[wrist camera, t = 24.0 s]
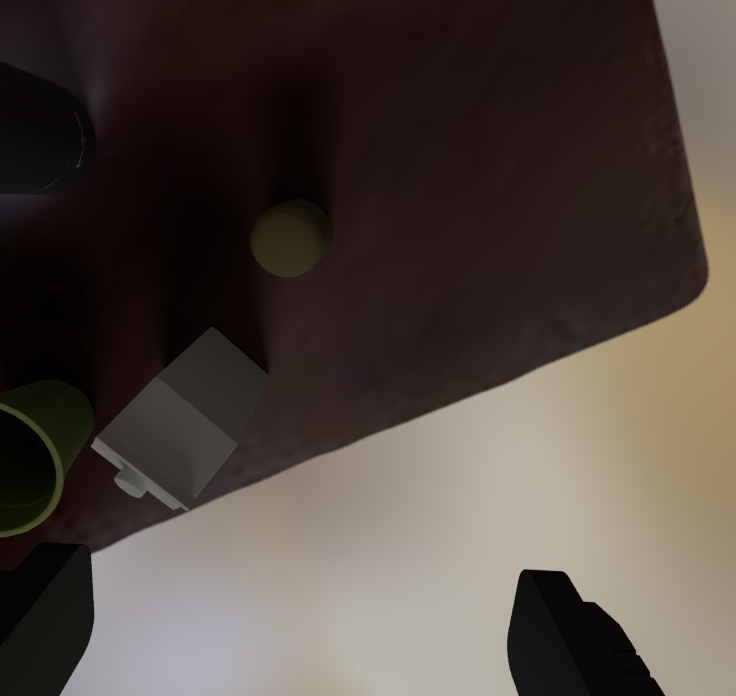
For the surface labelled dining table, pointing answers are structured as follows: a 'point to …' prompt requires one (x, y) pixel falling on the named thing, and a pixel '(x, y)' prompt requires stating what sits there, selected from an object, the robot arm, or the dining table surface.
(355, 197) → the dining table surface
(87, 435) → the plant pot
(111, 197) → the dining table surface
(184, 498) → the milk carton
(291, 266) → the olive cylinder
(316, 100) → the dining table surface
